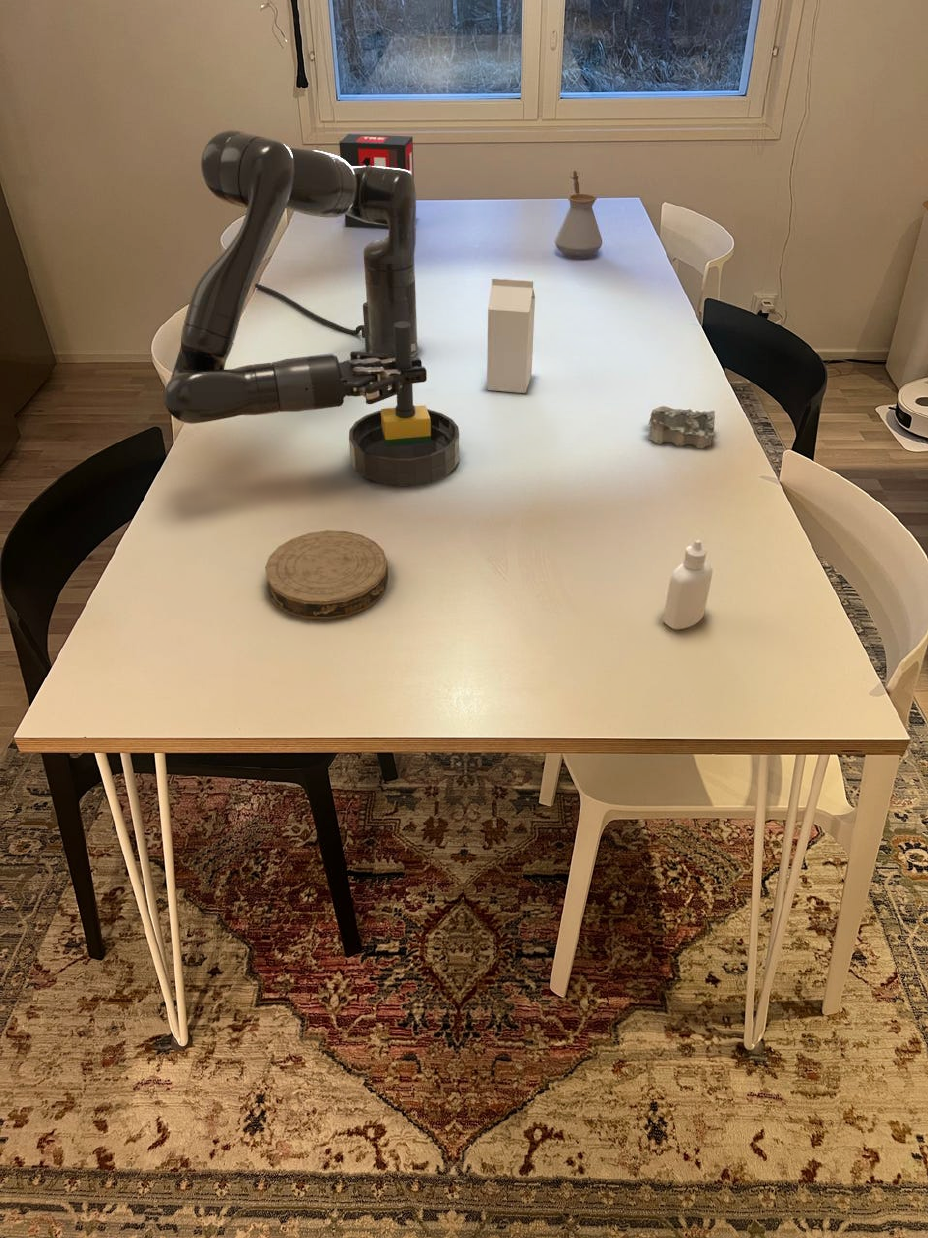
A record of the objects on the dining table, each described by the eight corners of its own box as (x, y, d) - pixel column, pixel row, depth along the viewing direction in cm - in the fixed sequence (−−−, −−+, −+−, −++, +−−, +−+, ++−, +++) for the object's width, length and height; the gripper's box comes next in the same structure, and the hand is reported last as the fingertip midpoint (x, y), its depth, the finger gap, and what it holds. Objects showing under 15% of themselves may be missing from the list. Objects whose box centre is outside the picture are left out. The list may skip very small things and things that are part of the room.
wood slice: (286, 632, 118) (283, 614, 116) (255, 564, 129) (252, 546, 127) (405, 601, 122) (404, 582, 121) (365, 537, 134) (364, 520, 132)
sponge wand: (385, 446, 144) (379, 332, 132) (381, 432, 147) (375, 320, 136) (431, 441, 145) (428, 328, 133) (426, 428, 148) (423, 316, 137)
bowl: (329, 469, 149) (326, 440, 146) (393, 425, 160) (391, 398, 157) (419, 500, 142) (418, 471, 138) (479, 452, 153) (479, 424, 150)
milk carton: (525, 394, 169) (530, 288, 157) (486, 390, 170) (488, 285, 158) (531, 377, 174) (536, 274, 162) (493, 374, 176) (495, 271, 164)
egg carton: (644, 443, 155) (647, 420, 152) (650, 422, 161) (652, 400, 158) (710, 451, 153) (714, 428, 150) (713, 429, 158) (717, 407, 156)
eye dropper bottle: (657, 609, 121) (669, 532, 113) (699, 607, 121) (715, 529, 114) (666, 631, 118) (680, 553, 110) (709, 628, 118) (726, 550, 110)
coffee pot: (604, 261, 224) (610, 194, 214) (556, 261, 223) (560, 194, 214) (593, 232, 240) (598, 169, 231) (548, 233, 240) (551, 169, 230)
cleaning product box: (415, 219, 249) (412, 136, 236) (407, 229, 242) (404, 144, 230) (354, 216, 251) (348, 133, 239) (345, 226, 244) (339, 142, 232)
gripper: (311, 379, 129) (434, 365, 132) (297, 339, 139) (412, 327, 143) (317, 429, 133) (435, 413, 137) (303, 386, 144) (413, 373, 147)
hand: (423, 369), depth 140 cm, fingers closed on sponge wand, 2 cm apart
